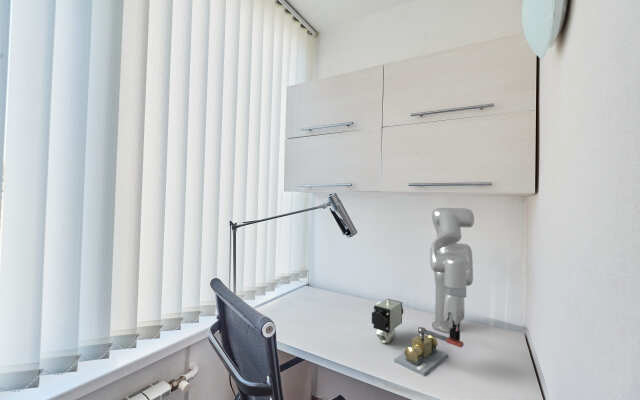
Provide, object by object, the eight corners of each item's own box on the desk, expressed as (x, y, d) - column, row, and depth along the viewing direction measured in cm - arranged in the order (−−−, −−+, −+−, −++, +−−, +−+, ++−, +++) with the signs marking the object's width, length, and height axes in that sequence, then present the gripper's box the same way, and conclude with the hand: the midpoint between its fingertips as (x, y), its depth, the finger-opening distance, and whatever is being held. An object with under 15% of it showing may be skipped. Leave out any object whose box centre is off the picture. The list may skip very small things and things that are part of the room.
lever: (416, 332, 108) (416, 328, 108) (420, 330, 110) (420, 326, 110) (460, 348, 96) (460, 344, 96) (463, 345, 98) (463, 341, 98)
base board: (419, 345, 119) (419, 342, 119) (447, 356, 110) (447, 353, 110) (394, 361, 106) (394, 358, 106) (424, 375, 97) (424, 372, 97)
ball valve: (386, 330, 133) (387, 293, 133) (403, 336, 127) (404, 297, 128) (368, 344, 119) (368, 302, 120) (386, 350, 114) (387, 307, 114)
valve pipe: (425, 346, 116) (425, 325, 116) (437, 351, 112) (437, 329, 112) (404, 361, 104) (404, 336, 105) (417, 367, 100) (417, 342, 101)
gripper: (451, 285, 112) (450, 331, 112) (437, 292, 101) (437, 343, 101) (471, 289, 107) (471, 337, 107) (459, 297, 96) (459, 351, 96)
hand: (454, 340), depth 104 cm, fingers closed
